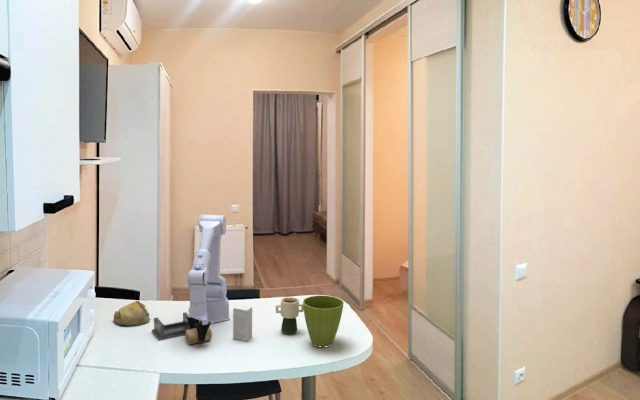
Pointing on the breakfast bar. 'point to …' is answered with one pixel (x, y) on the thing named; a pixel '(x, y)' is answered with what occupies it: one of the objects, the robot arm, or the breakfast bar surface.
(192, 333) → the cylinder
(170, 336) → the holder
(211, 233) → the robot arm
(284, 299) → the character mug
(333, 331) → the flower pot
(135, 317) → the pastry
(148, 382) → the breakfast bar surface
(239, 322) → the skincare box
